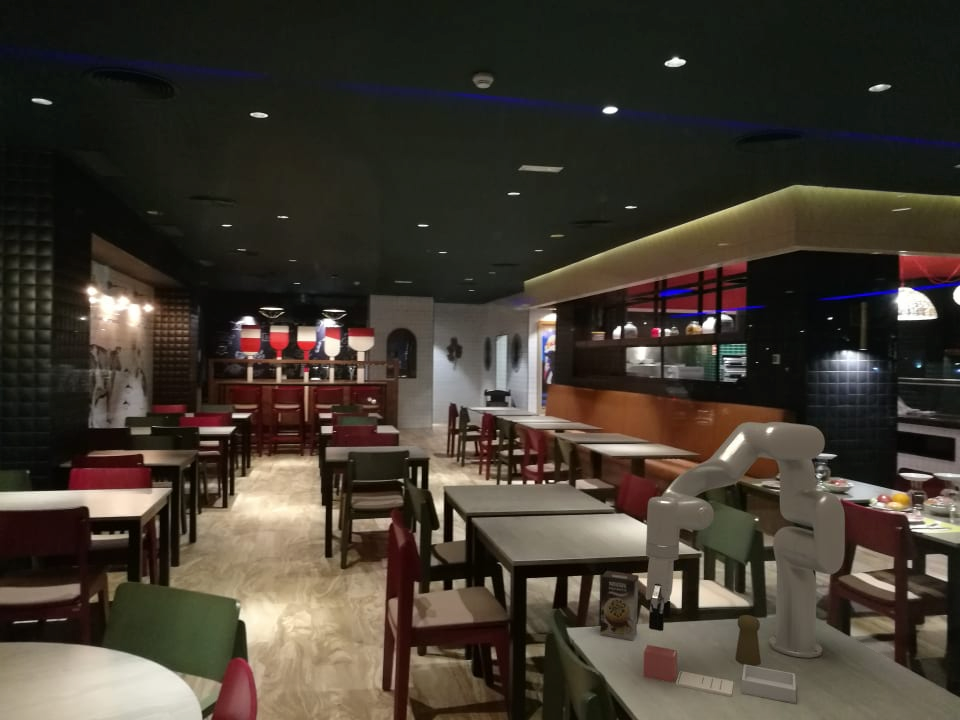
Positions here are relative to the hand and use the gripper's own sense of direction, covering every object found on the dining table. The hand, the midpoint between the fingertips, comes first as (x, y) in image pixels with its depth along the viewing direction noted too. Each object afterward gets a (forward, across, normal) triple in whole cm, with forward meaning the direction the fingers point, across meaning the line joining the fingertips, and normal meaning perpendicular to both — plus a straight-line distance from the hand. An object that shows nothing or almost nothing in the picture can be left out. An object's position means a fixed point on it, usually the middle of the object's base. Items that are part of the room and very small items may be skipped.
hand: (659, 622), depth 161 cm
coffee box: (+13, -22, -14) cm, 29 cm away
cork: (+12, -20, +19) cm, 30 cm away
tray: (+12, -5, +24) cm, 27 cm away
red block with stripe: (+13, -1, 0) cm, 13 cm away
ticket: (+12, -1, +11) cm, 16 cm away
